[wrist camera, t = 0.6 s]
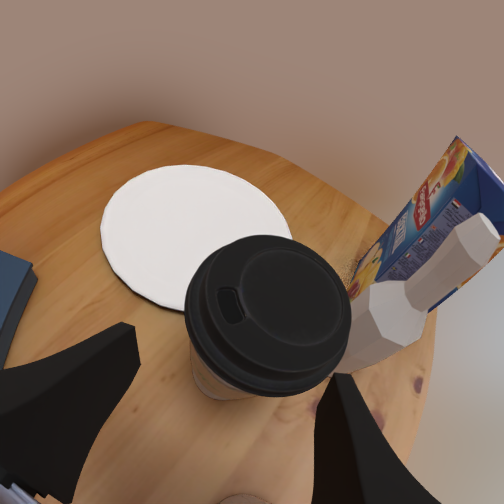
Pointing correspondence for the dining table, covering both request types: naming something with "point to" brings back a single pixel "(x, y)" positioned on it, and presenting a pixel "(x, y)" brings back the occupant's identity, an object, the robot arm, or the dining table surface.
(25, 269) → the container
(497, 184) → the juice carton
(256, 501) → the steel cup
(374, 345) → the low poly bottle
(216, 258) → the coffee cup
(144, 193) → the plate
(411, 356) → the dining table surface
